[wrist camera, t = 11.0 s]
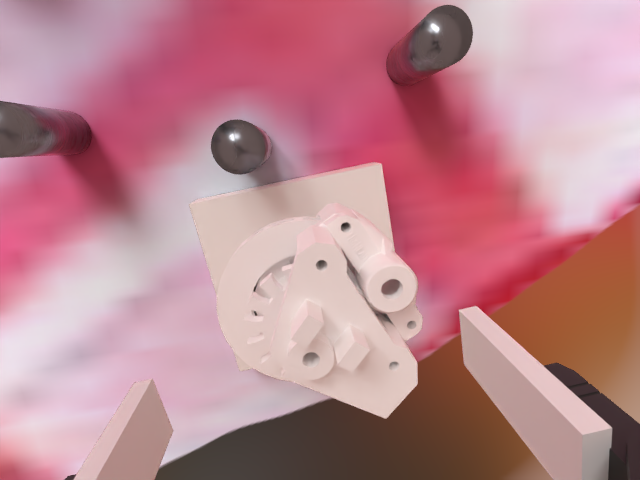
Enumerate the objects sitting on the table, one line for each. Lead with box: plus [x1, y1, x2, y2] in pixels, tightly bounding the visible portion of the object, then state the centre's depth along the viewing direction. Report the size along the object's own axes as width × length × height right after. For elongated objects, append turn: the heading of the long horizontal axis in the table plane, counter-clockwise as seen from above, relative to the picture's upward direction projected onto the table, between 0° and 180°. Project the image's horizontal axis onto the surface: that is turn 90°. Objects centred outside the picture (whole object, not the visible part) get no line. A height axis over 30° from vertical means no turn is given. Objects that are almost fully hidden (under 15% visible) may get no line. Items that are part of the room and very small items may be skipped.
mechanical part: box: [217, 203, 423, 419], centre depth 22 cm, size 11×12×12 cm
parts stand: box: [189, 162, 395, 371], centre depth 28 cm, size 14×14×2 cm
